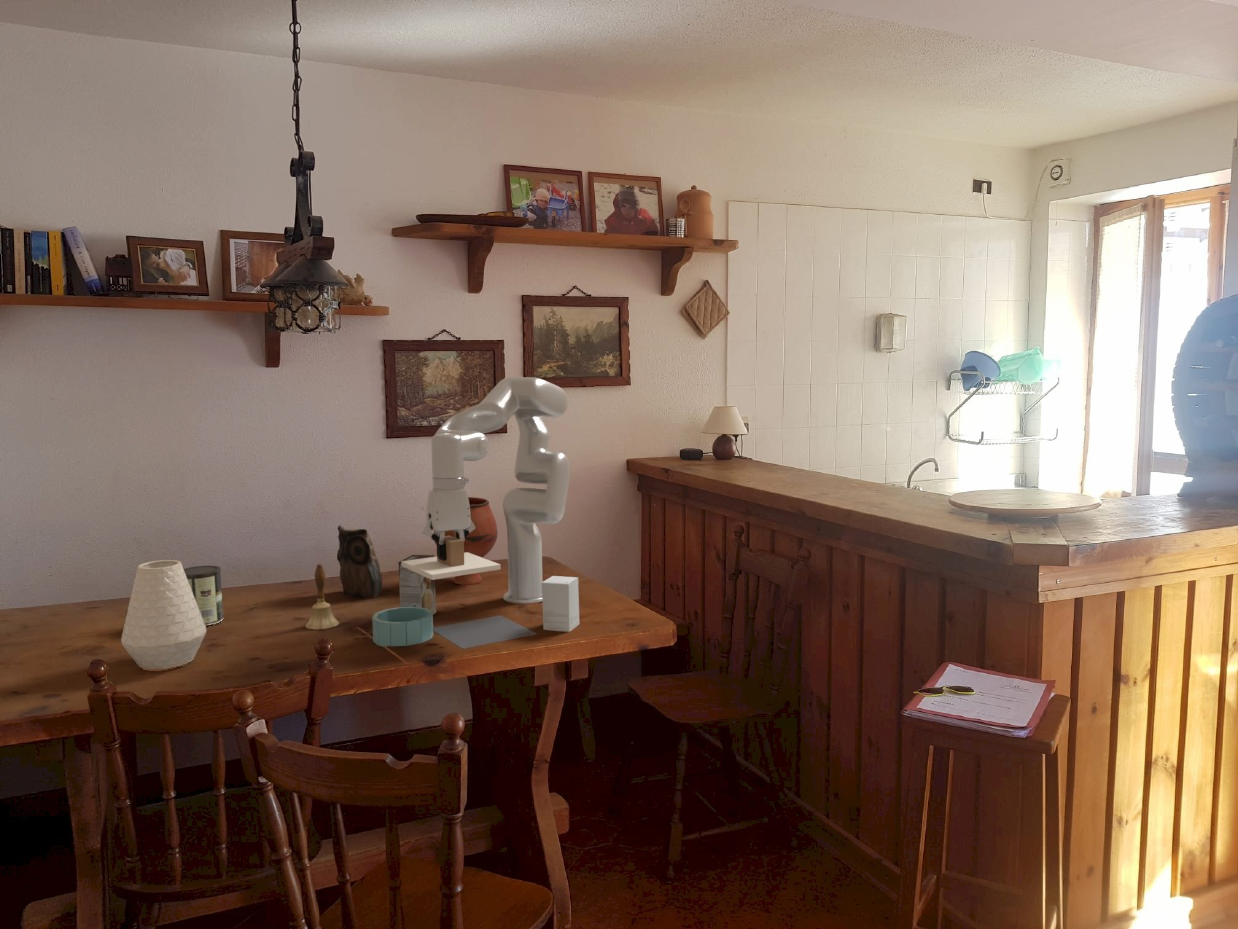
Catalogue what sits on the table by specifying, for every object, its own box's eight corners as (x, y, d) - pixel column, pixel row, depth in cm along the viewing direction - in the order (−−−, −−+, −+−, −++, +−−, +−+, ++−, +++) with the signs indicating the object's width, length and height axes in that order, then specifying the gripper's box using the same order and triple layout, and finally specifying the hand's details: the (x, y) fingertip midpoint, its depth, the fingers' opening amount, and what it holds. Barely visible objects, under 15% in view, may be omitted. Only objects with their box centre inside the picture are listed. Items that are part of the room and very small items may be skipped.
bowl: (419, 626, 241) (418, 604, 240) (441, 640, 229) (440, 616, 228) (366, 636, 233) (365, 612, 232) (386, 651, 221) (385, 626, 221)
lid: (467, 556, 244) (466, 529, 243) (500, 569, 229) (500, 540, 228) (401, 566, 233) (400, 537, 232) (432, 579, 219) (431, 549, 218)
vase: (216, 665, 212) (209, 565, 209) (130, 682, 202) (122, 577, 199) (199, 646, 226) (192, 552, 224) (118, 660, 216) (110, 562, 214)
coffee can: (204, 615, 253) (201, 563, 251) (232, 619, 249) (229, 567, 247) (171, 625, 244) (168, 572, 242) (200, 630, 239) (197, 576, 238)
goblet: (442, 592, 275) (439, 507, 271) (430, 577, 292) (427, 498, 289) (506, 585, 281) (504, 503, 278) (490, 571, 299) (488, 494, 296)
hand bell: (301, 624, 244) (297, 564, 242) (332, 619, 249) (329, 559, 247) (311, 632, 237) (308, 570, 235) (343, 626, 242) (341, 565, 240)
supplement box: (580, 625, 241) (579, 577, 239) (569, 633, 234) (568, 584, 232) (553, 622, 243) (552, 575, 242) (542, 631, 236) (541, 581, 235)
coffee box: (414, 612, 254) (412, 554, 252) (436, 613, 253) (435, 554, 251) (400, 622, 245) (397, 561, 243) (423, 623, 244) (421, 562, 242)
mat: (500, 616, 249) (500, 615, 249) (537, 635, 232) (537, 633, 232) (429, 629, 238) (429, 628, 238) (462, 650, 221) (462, 649, 221)
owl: (376, 599, 268) (373, 530, 265) (331, 600, 267) (328, 531, 264) (384, 587, 280) (382, 521, 278) (341, 589, 279) (338, 522, 277)
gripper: (472, 480, 237) (473, 551, 239) (410, 485, 227) (412, 560, 229) (485, 483, 231) (487, 556, 233) (422, 489, 221) (425, 565, 223)
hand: (450, 557), depth 231 cm, fingers closed on lid, 3 cm apart
